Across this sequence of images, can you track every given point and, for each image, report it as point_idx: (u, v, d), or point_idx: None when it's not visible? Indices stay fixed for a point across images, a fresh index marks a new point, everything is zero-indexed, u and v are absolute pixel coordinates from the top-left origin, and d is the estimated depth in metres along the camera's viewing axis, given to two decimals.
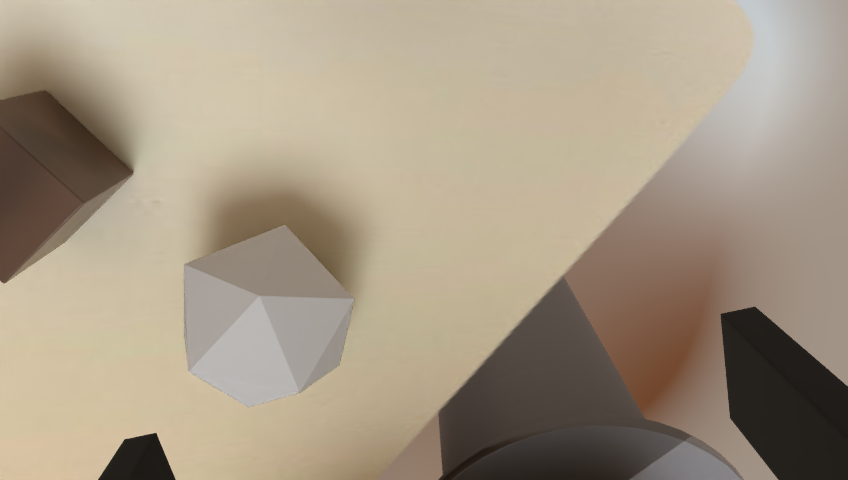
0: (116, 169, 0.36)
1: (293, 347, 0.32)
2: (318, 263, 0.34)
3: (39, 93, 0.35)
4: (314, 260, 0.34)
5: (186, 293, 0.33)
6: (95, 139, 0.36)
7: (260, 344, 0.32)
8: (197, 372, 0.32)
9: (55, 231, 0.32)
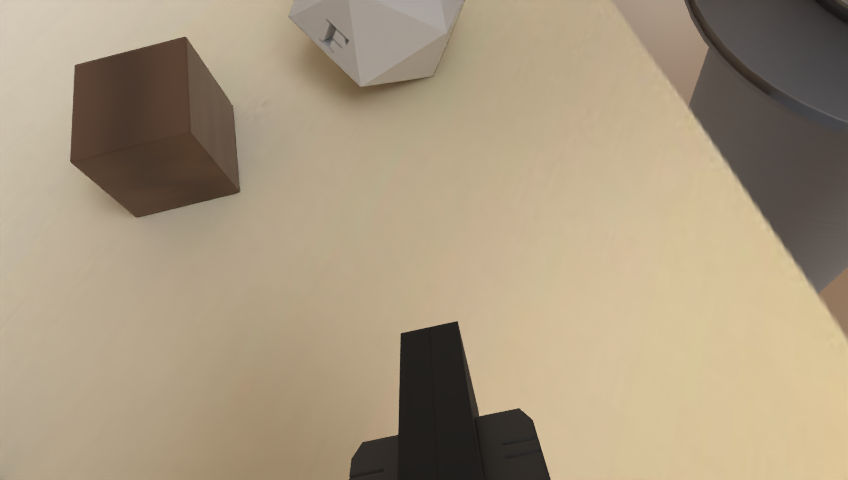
0: None
1: None
2: None
3: None
4: None
5: (303, 8, 0.34)
6: None
7: None
8: None
9: (187, 68, 0.34)
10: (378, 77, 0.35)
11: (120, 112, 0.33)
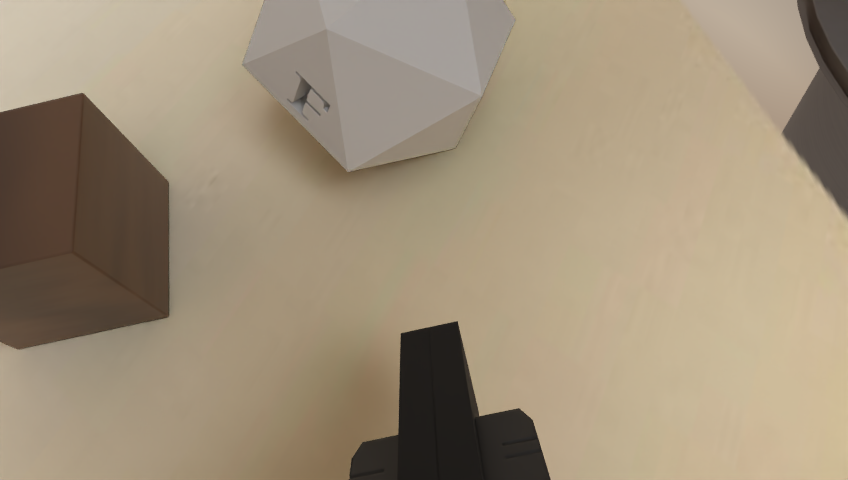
0: None
1: None
2: None
3: None
4: None
5: (263, 53, 0.22)
6: None
7: None
8: (336, 20, 0.20)
9: (79, 144, 0.22)
10: (375, 158, 0.23)
11: None
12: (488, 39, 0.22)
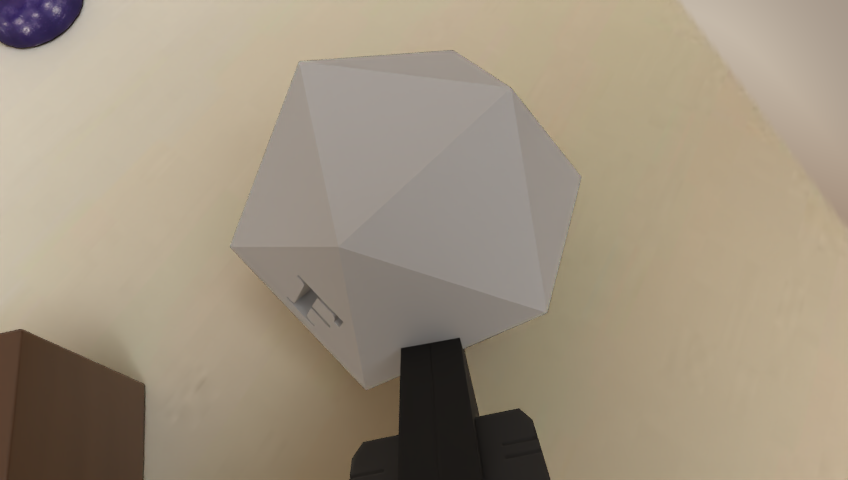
0: None
1: (426, 72, 0.16)
2: None
3: None
4: None
5: (255, 243, 0.17)
6: None
7: (376, 100, 0.16)
8: (351, 233, 0.14)
9: (12, 412, 0.16)
10: None
11: None
12: (553, 225, 0.17)
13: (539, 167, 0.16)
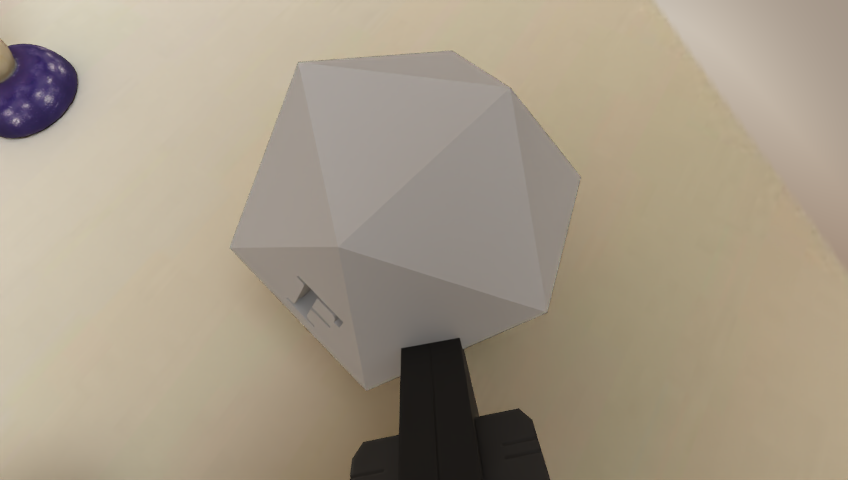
0: None
1: (426, 73, 0.16)
2: None
3: None
4: None
5: (255, 244, 0.17)
6: None
7: (376, 101, 0.16)
8: (351, 233, 0.14)
9: None
10: None
11: None
12: (553, 225, 0.17)
13: (539, 167, 0.16)
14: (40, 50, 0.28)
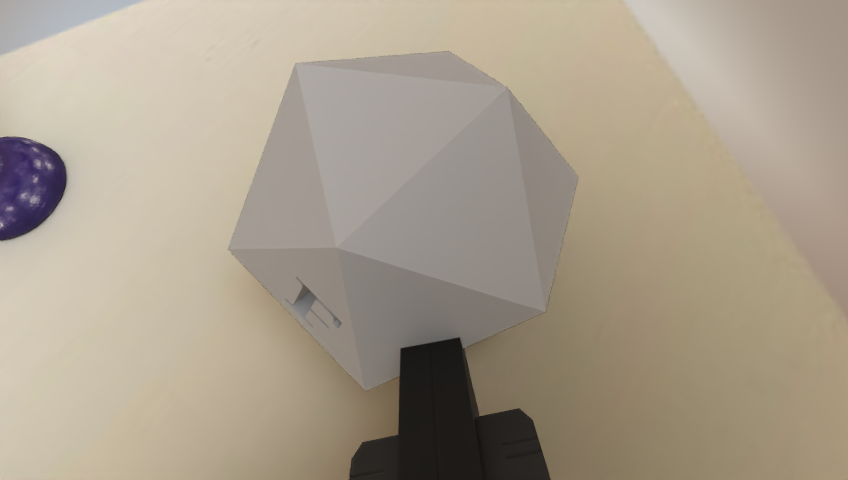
0: None
1: (423, 73, 0.16)
2: None
3: None
4: None
5: (253, 245, 0.17)
6: None
7: (373, 101, 0.16)
8: (349, 234, 0.14)
9: None
10: None
11: None
12: (550, 225, 0.17)
13: (536, 167, 0.16)
14: (25, 145, 0.25)
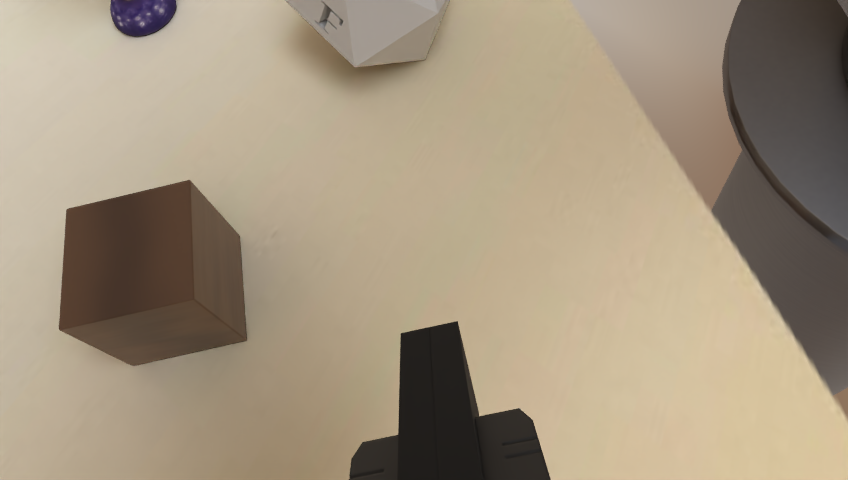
0: None
1: None
2: None
3: None
4: None
5: None
6: None
7: None
8: None
9: (190, 219, 0.30)
10: (372, 58, 0.36)
11: (115, 270, 0.30)
12: None
13: None
14: None
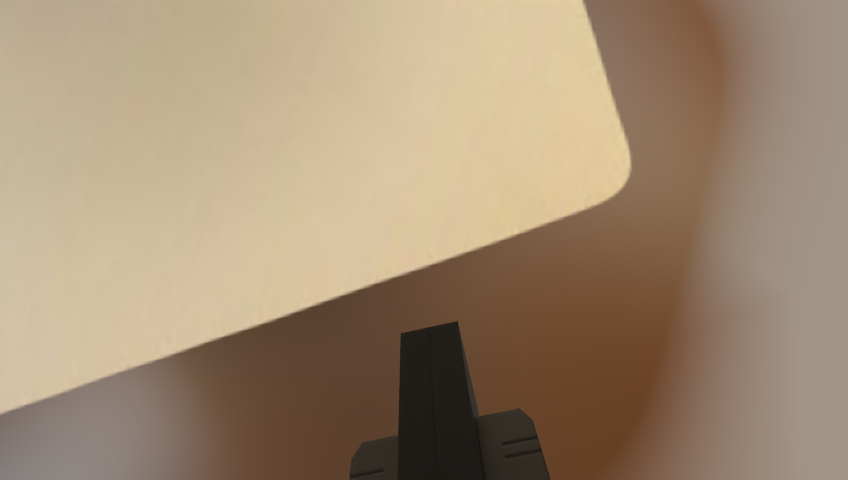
0: None
1: None
2: None
3: None
4: None
5: None
6: None
7: None
8: None
9: None
10: None
11: None
12: None
13: None
14: None
